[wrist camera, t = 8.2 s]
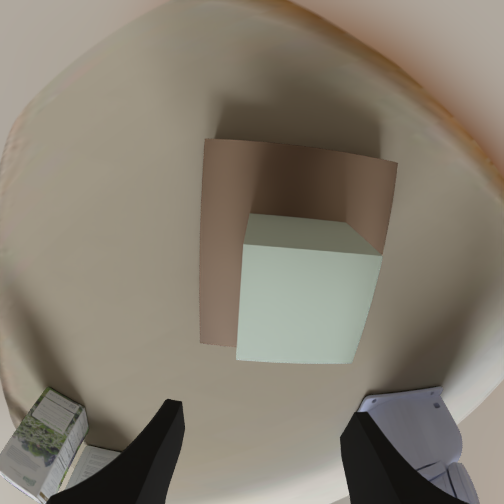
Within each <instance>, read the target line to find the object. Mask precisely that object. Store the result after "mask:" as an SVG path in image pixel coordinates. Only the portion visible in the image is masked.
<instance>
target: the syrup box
mask: <svg viewBox="0 0 504 504" xmlns="http://www.w3.org/2000/svg"><path fill="white" fill-rule="evenodd" d="M88 430H89V427H88V422H87V417H86V412H85V407H84V406H82V405H80V404H78V403H76V402H74V401H72V400H70V399H69V398H67V397H65V396H63V395H62V394H60V393H58V392H56V391H55V390H53V389H51V388H50V387H47V388H46V389H45V391H44V392H43V393H42V395H41V396H40V397H39V399H38V400H37V401H36V403H35V404H34V405H33V407H32V408H31V409H30V411H29V412H28V414H27V415H26V417H25V418H24V419H23V421H22V422H21V424H20V425H19V426H18V428H17V429H16V431H15V432H14V434H13V435H12V437H11V438H10V440H9V441H8V443H7V445H6V446H5V447H4V449H3V451H2V452H1V454H0V475H1V476H2V477H3V478H4V479H5V480H6V481H8V482H9V483H10V484H12V485H13V486H14V487H16V488H17V489H18V490H20V491H21V492H23V493H24V494H26V495H27V496H29V497H30V498H32V499H33V500H35V501H36V502H38V503H40V504H46V502H47V501H48V499H49V498H50V496H52V495H54V494H57V493H58V491H59V488H60V486H61V484H62V482H63V480H64V478H65V476H66V473H67V471H68V469H69V467H70V465H71V463H72V461H73V459H74V457H75V455H76V453H77V451H78V449H79V447H80V445H81V444H82V442H83V440H84V438H85V436H86V434H87V432H88Z"/></svg>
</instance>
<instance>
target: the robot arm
mask: <svg viewBox="0 0 504 504" xmlns="http://www.w3.org/2000/svg"><path fill="white" fill-rule="evenodd" d="M442 391H443V388H442V387H441V386H439V387H434V388H428V389H421V390H415V391H407V392H399V393H391V394H380V395H370V396H367V397H365V398H364V400H363V402H362V404H361V406H360V408H359V410H358V411H357V412H354V414H353V416H352V418H351V420H350V421H349V423H348V425H347V427H346V428H345V430H344V432H343V433H342V435H341V437H340V444H341V456H342V462H343V466H344V471H345V476H346V480H347V485H348V490H349V495H350V501H351V504H480V503H479V499H478V496H477V493H476V490H475V488H474V485H473V483H472V481H471V479H470V476H469V474H468V472H467V470H466V469H465V467H464V465H463V464H462V463H457V461H458V460H459V458H460V456H461V452H462V437H461V434H460V431H459V429H458V427H457V425H456V423H455V421H454V419H453V418H452V416H451V414H450V412H449V410H448V408H447V407H446V405H445V403H444V401H443V400H442V398H441V396H440V394H441V393H442ZM184 431H185V423H184V415H183V406H182V402H181V401H176V400H171V399H167V400H165V401H164V403H163V405H162V406H161V407H160V409H159V410H158V412H157V413H156V415H155V416H154V417H153V418H152V420H151V421H150V422H149V424H148V425H147V426H146V427H145V428H144V430H143V431H142V432H141V433H140V434H139V435H138V436H137V438H136V439H135V440H134V441H133V442H132V443H131V444H130V445H129V446H128V447H127V448H126V449H125V450H124V451H123V452H122V453H121V454H119V455H118V456H117V457H116V458H115V459H114V460H112V461H111V462H110V463H109V464H108V465H106V466H105V467H103V468H102V469H101V470H99V471H98V472H96V473H95V474H93V475H92V476H90V477H89V478H87V479H85V480H83V481H82V482H80V483H78V484H76V485H75V486H73V487H70V488H68V489H66V490H64V491H61V492H59V493H57V494H54V495H52V496H50V498H49V499H48V501H47V502H46V504H165V500H166V495H167V491H168V487H169V484H170V481H171V478H172V475H173V472H174V469H175V466H176V463H177V460H178V457H179V454H180V450H181V447H182V442H183V437H184Z"/></svg>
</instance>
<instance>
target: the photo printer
mask: <svg viewBox="0 0 504 504" xmlns="http://www.w3.org/2000/svg"><path fill="white" fill-rule="evenodd" d="M119 454H121V453H120V452H115V451H111V450H106V449H101V448H97V447H93V446H86V447H85V448H84V450H83V452H82V454H81V456H80V459H79V461H78V463H77V465H76V467H75V469H74V471H73V473H72V475H71V478H70V480H69V482H68V484H67V486H66V489H68V488H70V487H73V486H75V485H76V484H78V483H80V482H82V481H83V480H85V479H87V478H89V477H90V476H92V475H93V474H95V473H96V472H98V471H99V470H101V469H102V468H103V467H105V466H106V465H108V464H109V463H110V462H111V461H112V460H114V459H115V458H116V457H117V456H118V455H119ZM66 489H65V490H66Z"/></svg>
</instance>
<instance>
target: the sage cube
mask: <svg viewBox="0 0 504 504" xmlns="http://www.w3.org/2000/svg"><path fill="white" fill-rule="evenodd" d="M382 258H383V256H382V255H381V254H380V253H379V252H378V251H377V250H376V249H375V248H374V247H373V246H372V245H370V244H369V243H368V242H367V241H366V240H365V239H364V238H363V237H362V236H361V235H359V234H358V233H357V232H356V231H355V230H354V229H353V228H352V227H351V226H349V225H348V224H347V223H346V222H337V221H327V220H318V219H308V218H298V217H287V216H276V215H264V214H252V213H250V214H249V219H248V224H247V229H246V233H245V238H244V243H243V256H242V271H241V287H240V303H239V319H238V335H237V352H236V360H246V361H260V362H277V363H303V364H352V361H353V358H354V355H355V353H356V350H357V347H358V344H359V341H360V338H361V335H362V332H363V328H364V325H365V322H366V319H367V315H368V312H369V309H370V305H371V302H372V298H373V294H374V291H375V287H376V283H377V279H378V275H379V271H380V267H381V263H382Z"/></svg>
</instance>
